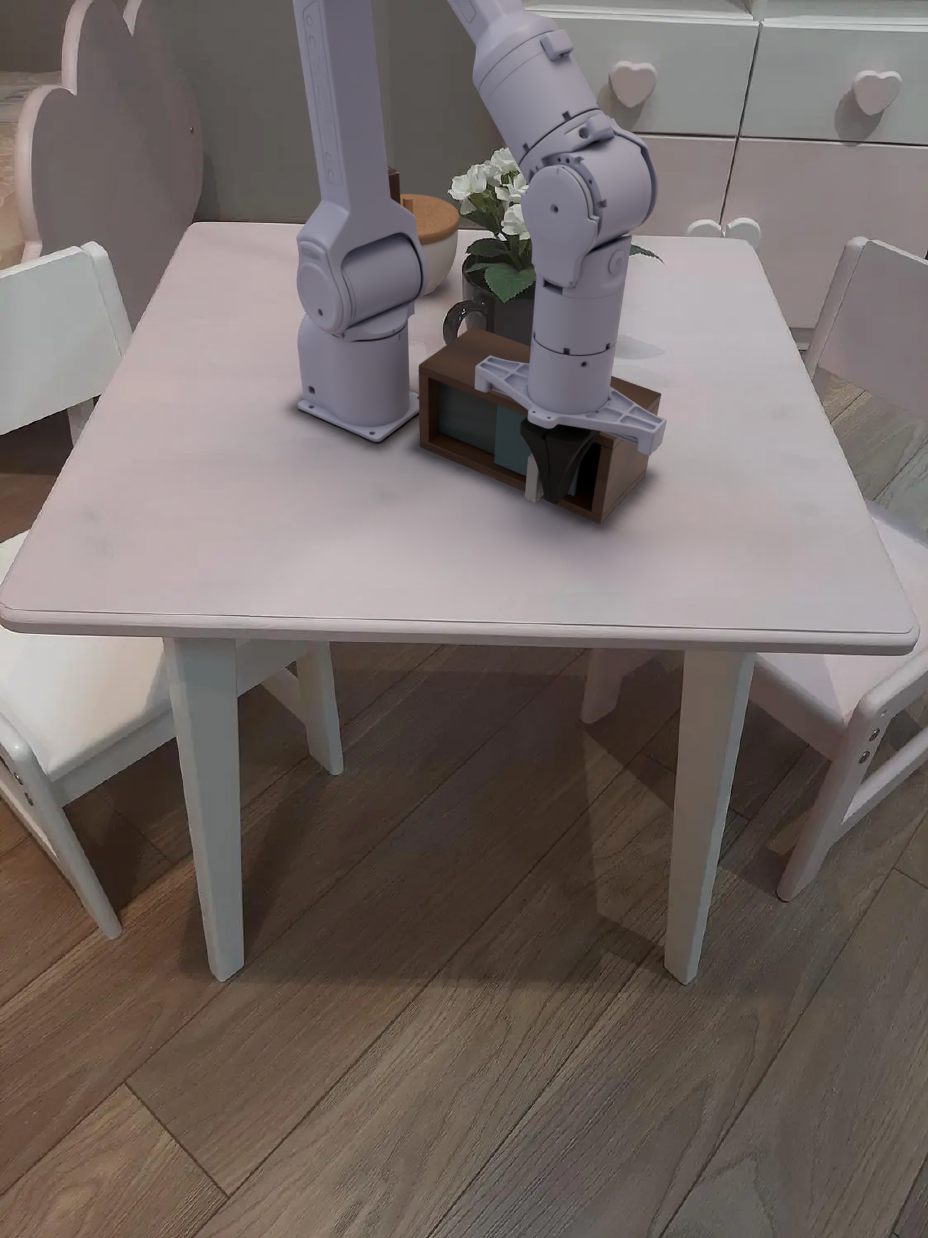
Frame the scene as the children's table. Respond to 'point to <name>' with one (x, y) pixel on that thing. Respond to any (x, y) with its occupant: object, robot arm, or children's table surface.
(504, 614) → the children's table surface
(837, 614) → the children's table surface
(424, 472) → the children's table surface
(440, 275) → the white lidded jar
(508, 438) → the glass door
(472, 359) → the cabinet
